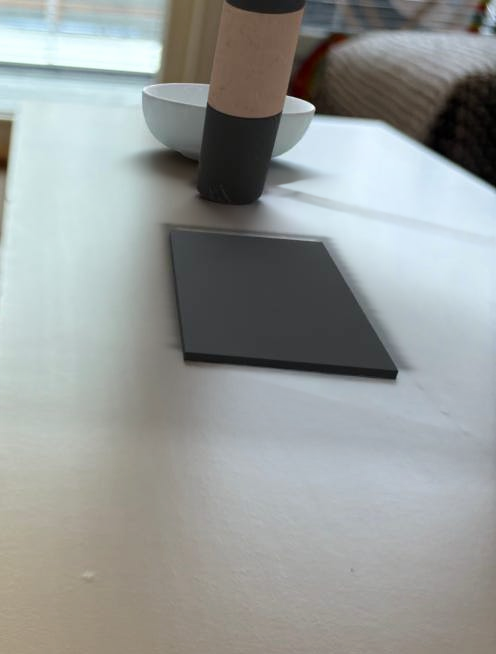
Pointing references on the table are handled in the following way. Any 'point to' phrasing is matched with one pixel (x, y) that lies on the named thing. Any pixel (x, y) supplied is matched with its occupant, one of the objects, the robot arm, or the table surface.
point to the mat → (271, 306)
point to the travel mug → (247, 96)
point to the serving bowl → (189, 115)
